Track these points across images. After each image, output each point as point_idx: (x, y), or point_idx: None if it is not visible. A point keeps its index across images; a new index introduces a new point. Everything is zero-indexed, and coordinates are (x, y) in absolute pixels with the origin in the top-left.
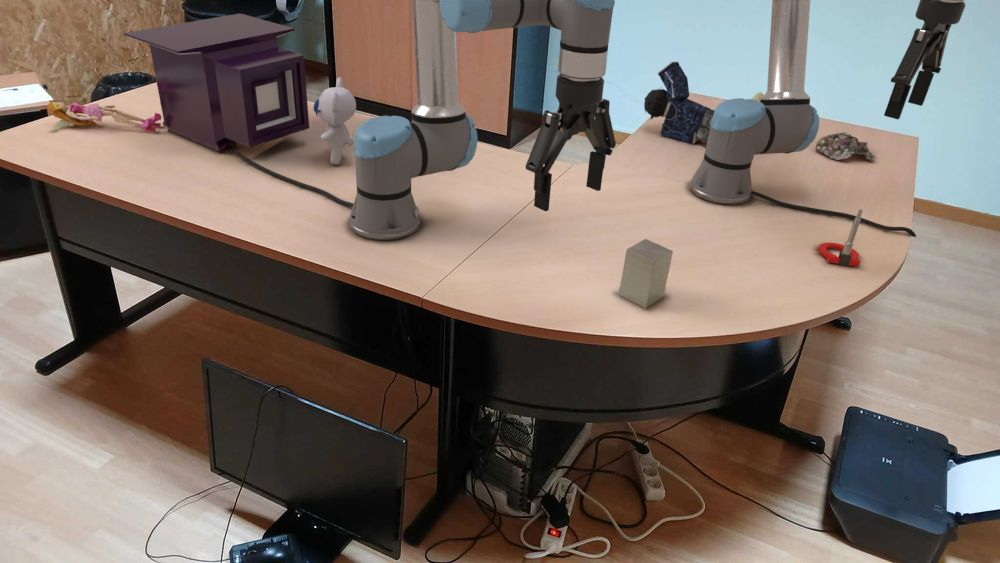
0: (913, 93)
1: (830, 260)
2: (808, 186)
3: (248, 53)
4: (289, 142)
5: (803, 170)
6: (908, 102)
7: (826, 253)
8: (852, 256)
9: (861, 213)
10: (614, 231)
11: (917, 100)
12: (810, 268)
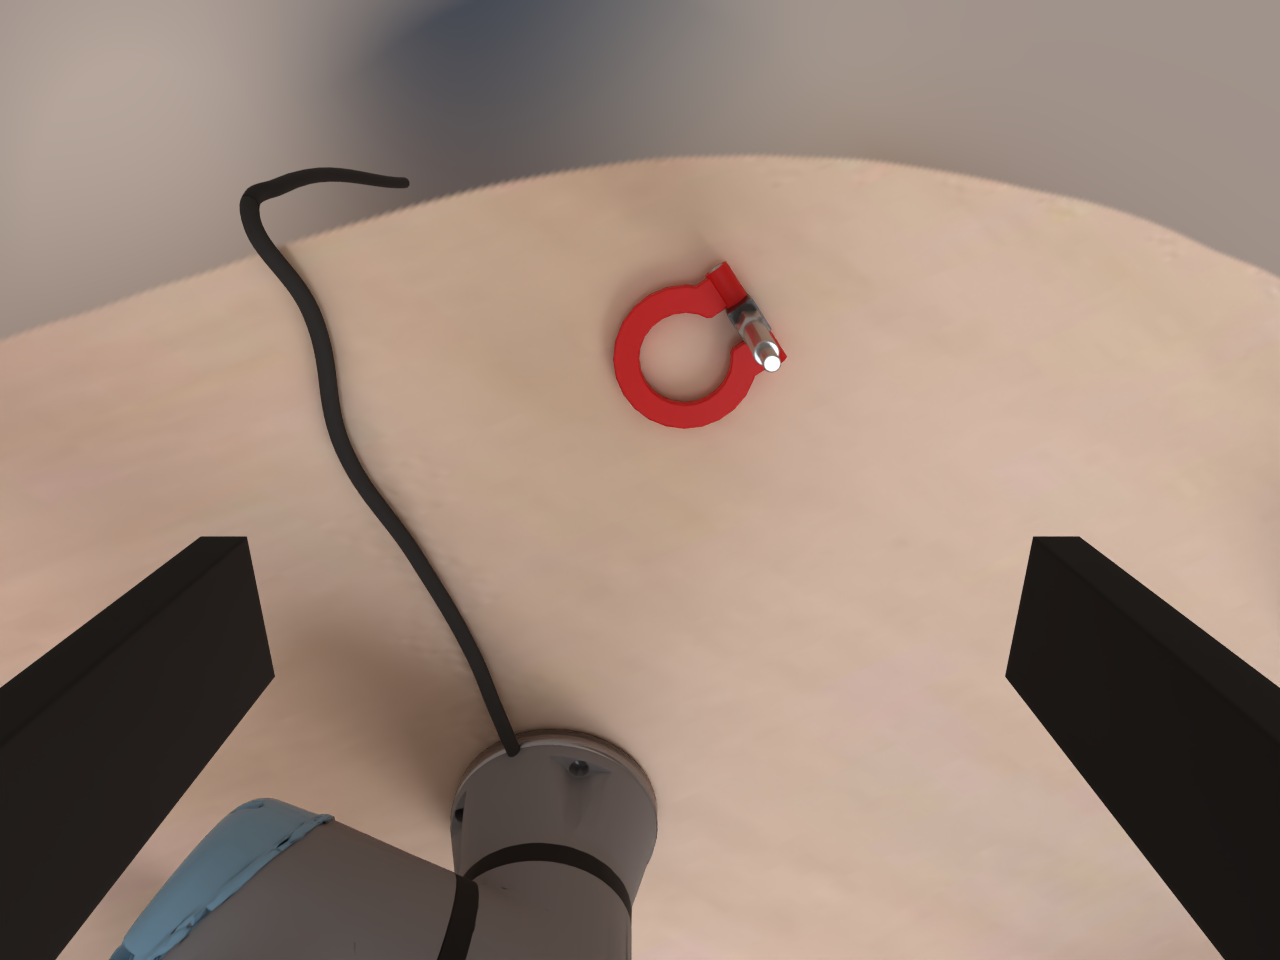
0: (205, 729)
1: (783, 351)
2: None
3: None
4: None
5: None
6: (271, 669)
7: (749, 382)
8: (692, 305)
9: (772, 351)
10: (1057, 856)
11: (232, 620)
12: (856, 381)
